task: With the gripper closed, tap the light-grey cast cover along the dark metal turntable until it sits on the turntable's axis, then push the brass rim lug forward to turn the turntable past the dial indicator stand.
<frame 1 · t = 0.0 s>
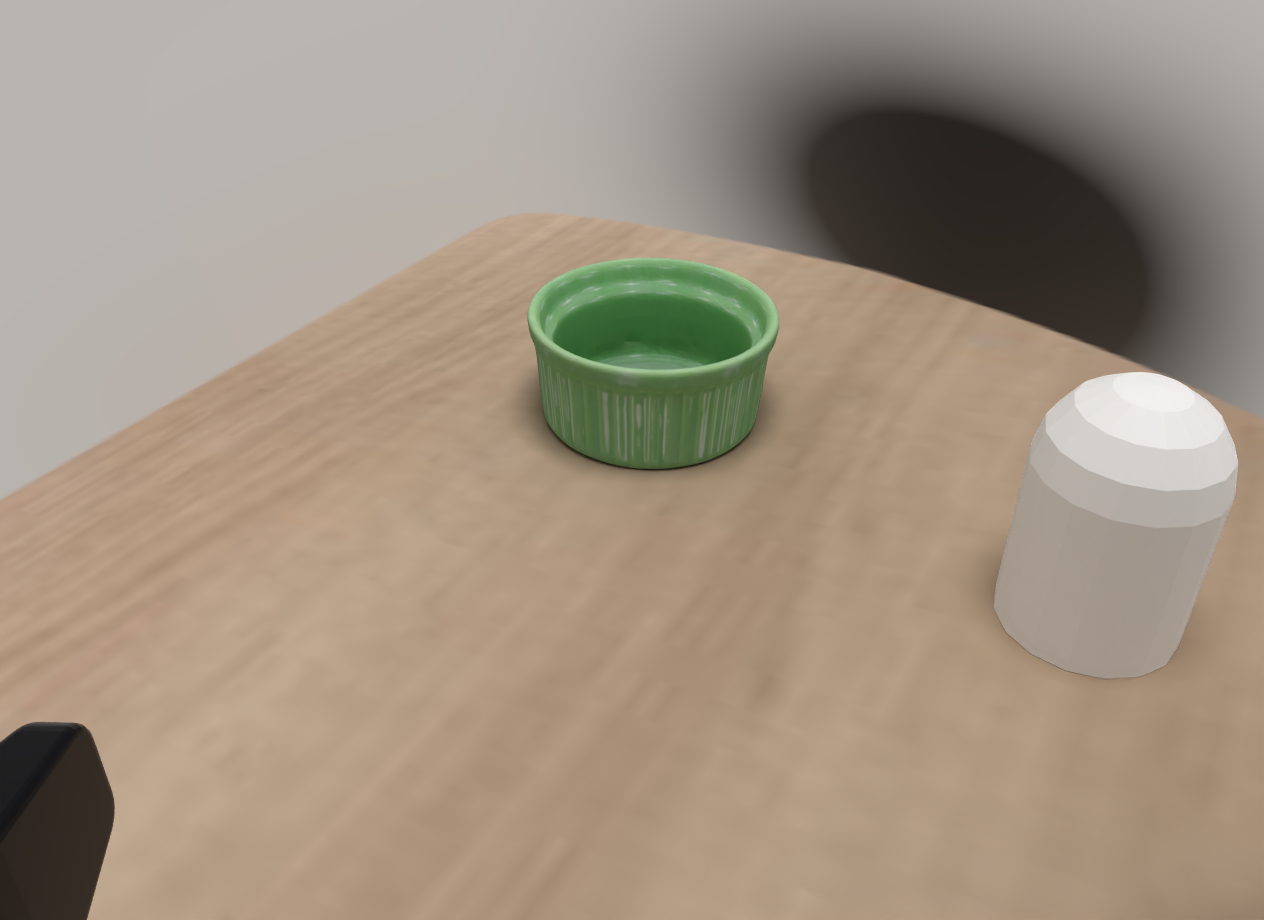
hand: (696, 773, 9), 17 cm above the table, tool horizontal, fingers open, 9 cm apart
ramekin: (649, 418, 44), on the table
salt shaker: (1082, 620, 35), on the table
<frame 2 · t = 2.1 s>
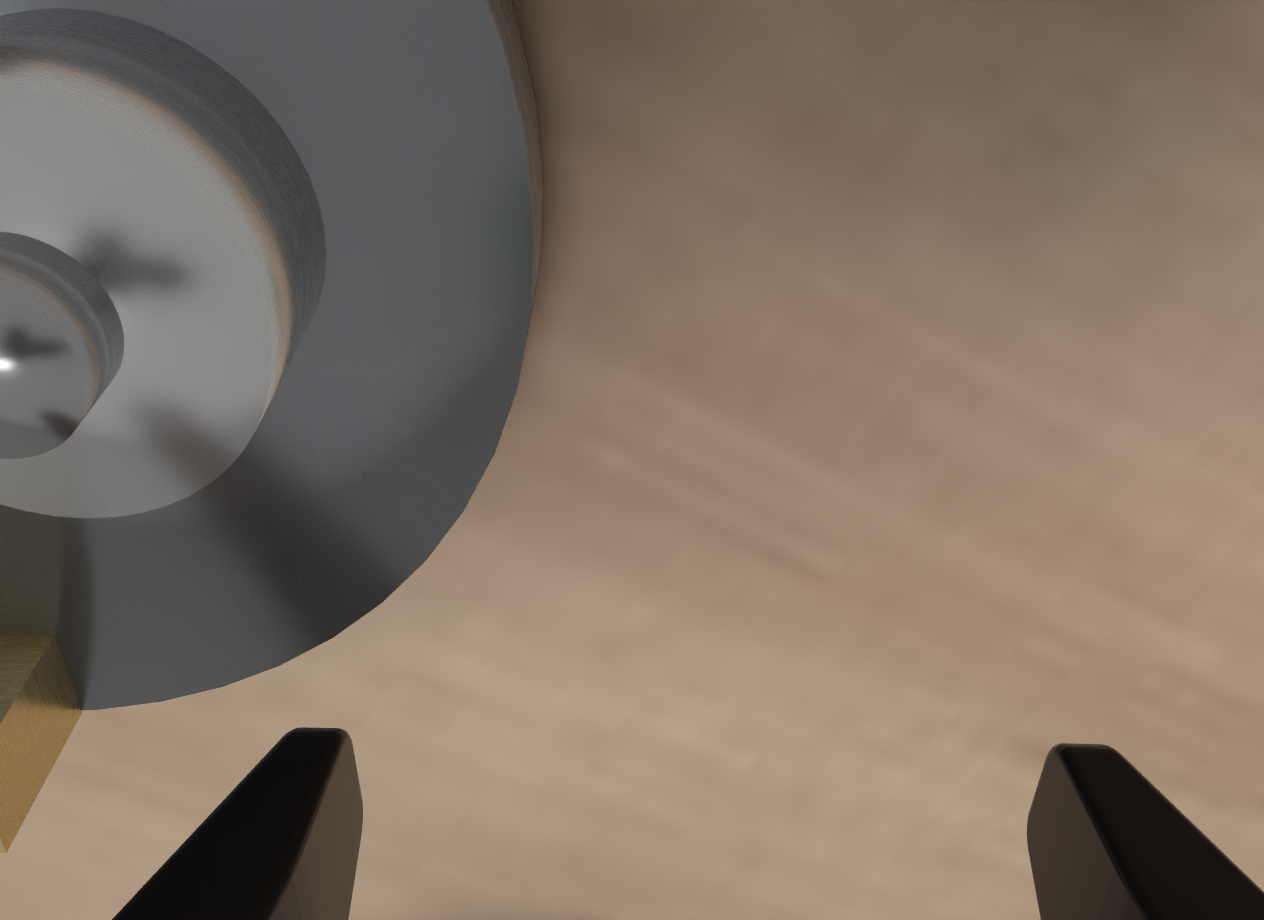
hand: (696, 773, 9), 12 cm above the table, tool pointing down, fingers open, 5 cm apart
cover: (116, 225, 17), point 2 cm above the table, touching turntable
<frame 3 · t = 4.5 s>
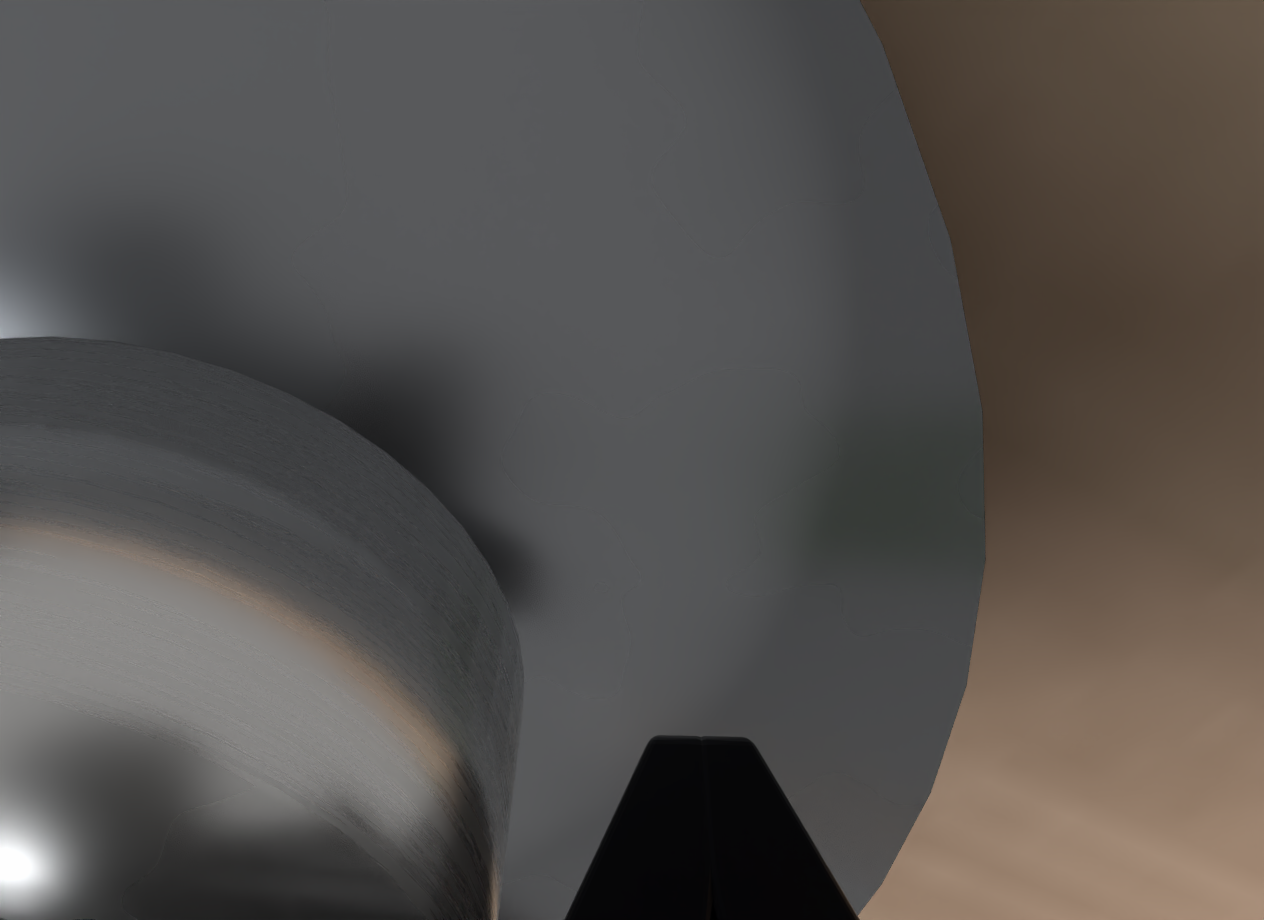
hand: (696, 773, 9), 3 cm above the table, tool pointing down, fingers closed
cover: (150, 667, 9), point 2 cm above the table, touching gripper
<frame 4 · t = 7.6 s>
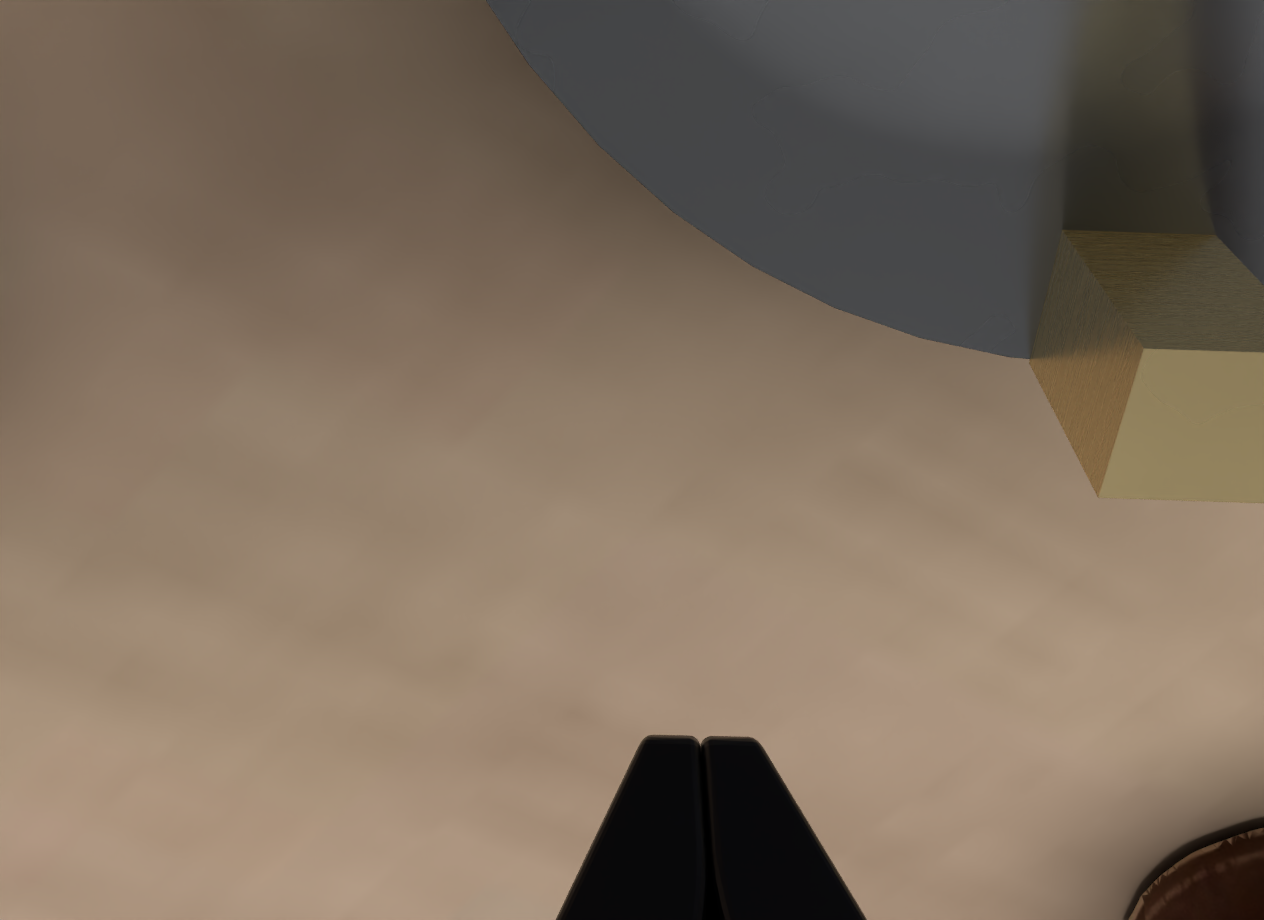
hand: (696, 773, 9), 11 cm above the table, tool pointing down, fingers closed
coffee cup: (1255, 894, 27), on the table
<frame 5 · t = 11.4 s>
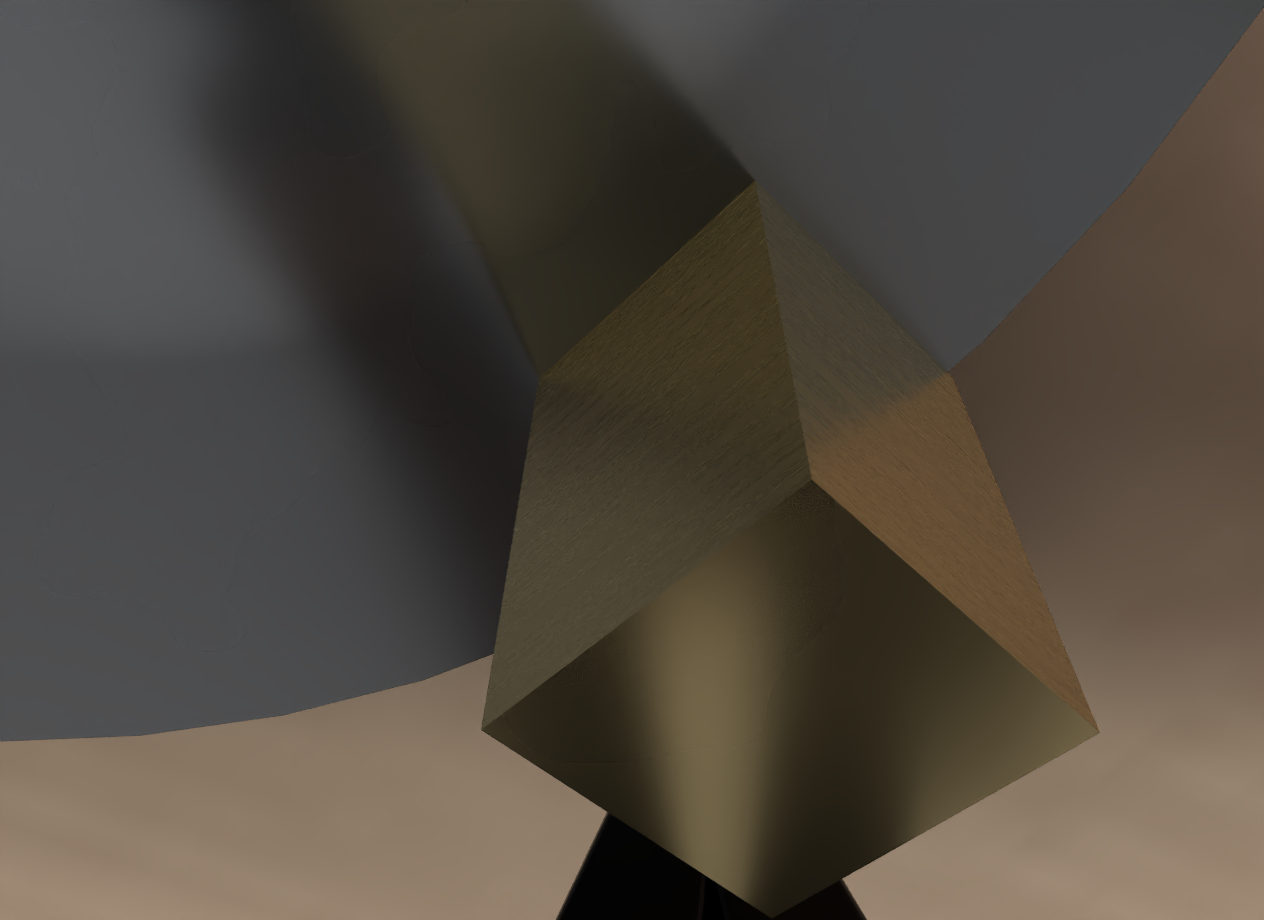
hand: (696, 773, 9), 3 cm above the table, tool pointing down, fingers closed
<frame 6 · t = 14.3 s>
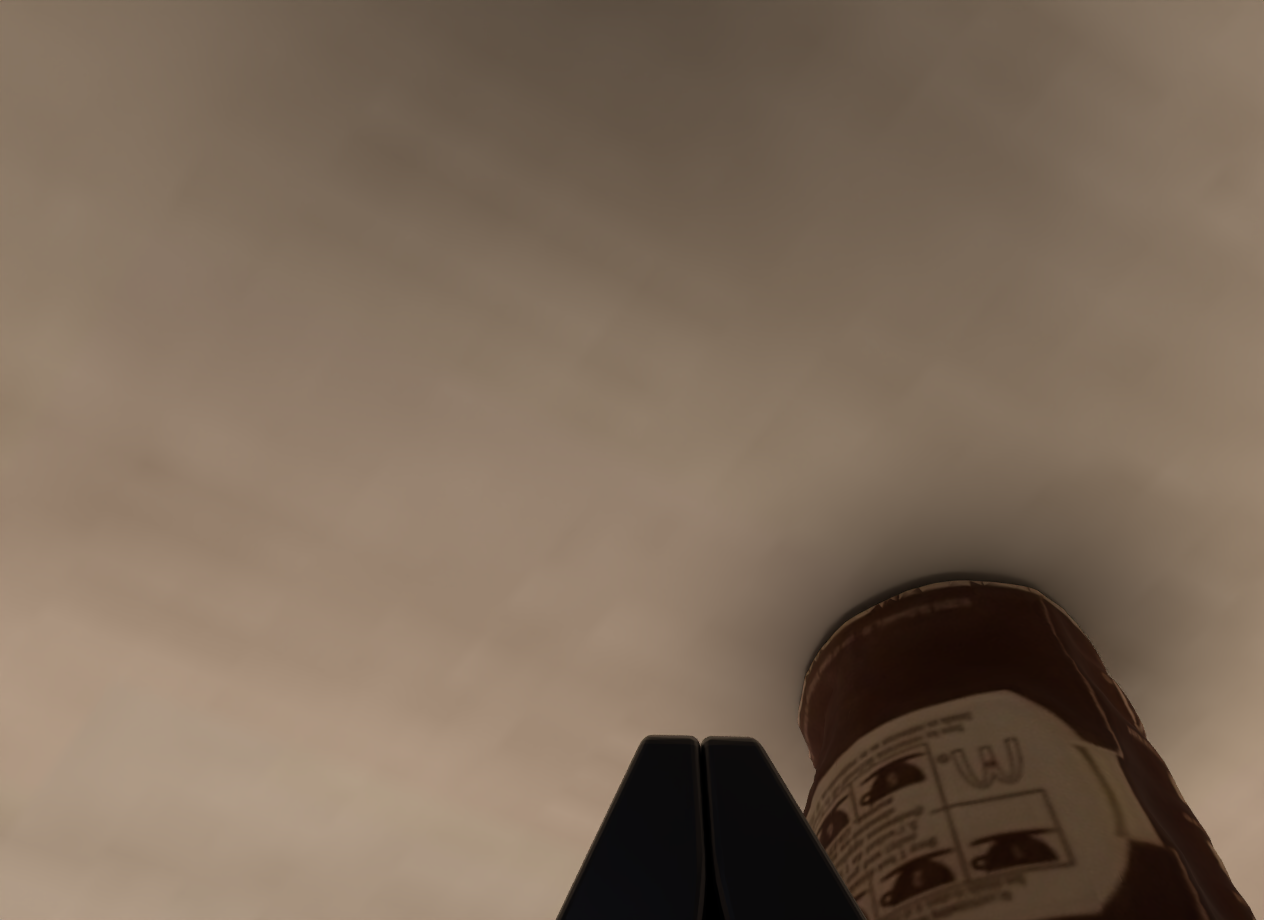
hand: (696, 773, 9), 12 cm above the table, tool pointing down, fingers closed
coffee cup: (935, 678, 25), on the table
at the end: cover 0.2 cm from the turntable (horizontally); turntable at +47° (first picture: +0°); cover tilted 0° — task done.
